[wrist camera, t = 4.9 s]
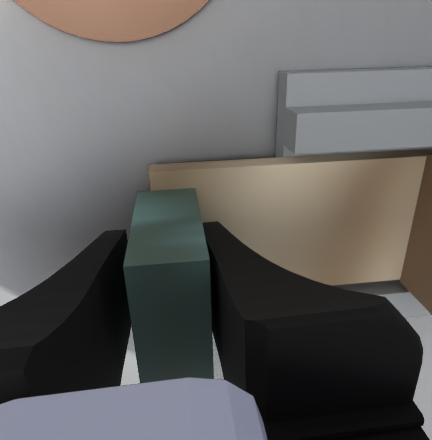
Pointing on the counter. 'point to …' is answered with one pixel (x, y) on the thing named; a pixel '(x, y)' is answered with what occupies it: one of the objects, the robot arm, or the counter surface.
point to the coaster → (113, 16)
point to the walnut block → (421, 244)
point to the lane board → (357, 128)
